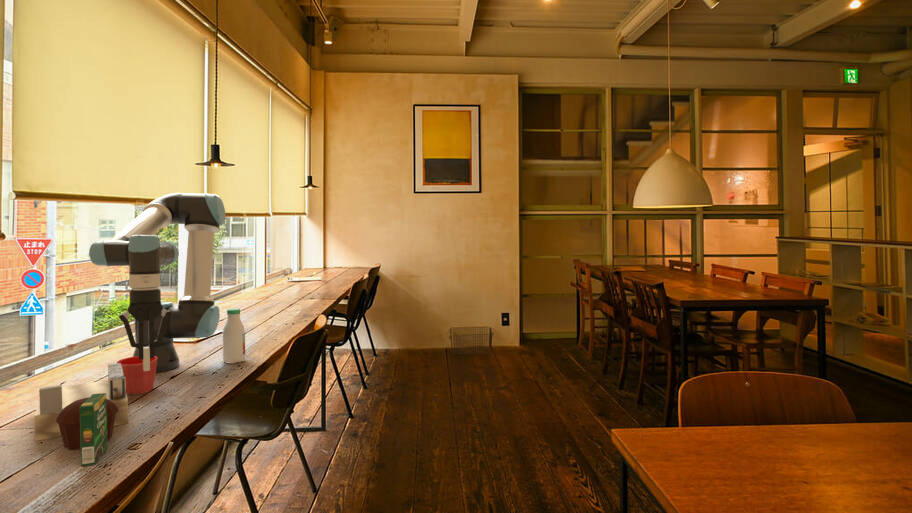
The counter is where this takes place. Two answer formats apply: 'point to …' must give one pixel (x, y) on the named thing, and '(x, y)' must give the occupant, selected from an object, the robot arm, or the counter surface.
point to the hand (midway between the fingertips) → (146, 369)
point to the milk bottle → (233, 337)
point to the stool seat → (47, 422)
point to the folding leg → (116, 381)
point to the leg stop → (50, 399)
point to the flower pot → (138, 374)
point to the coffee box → (93, 429)
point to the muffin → (71, 422)
